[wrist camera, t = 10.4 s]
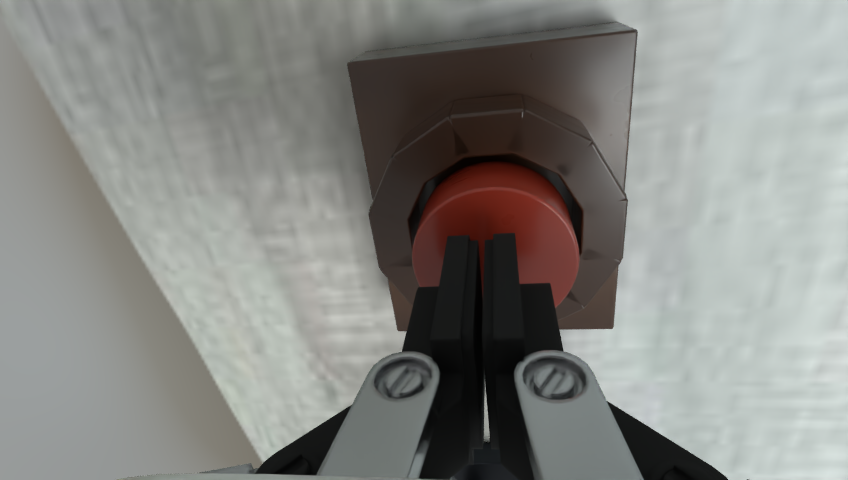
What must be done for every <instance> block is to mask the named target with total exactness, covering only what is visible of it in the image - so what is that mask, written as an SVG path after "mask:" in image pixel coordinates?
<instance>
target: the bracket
mask: <svg viewBox="0 0 848 480" xmlns="http://www.w3.org/2000/svg"><path fill="white" fill-rule="evenodd" d="M454 476H455V480H518V479H517V478H516V477H515V476H514V475H513V474H512V473H510V472H509V471H508V470H507V469H506V468H505V467H504V466H502V465H501V461H500V449H491V443H483V449H474V462H473V465H466V466H465V467H464V468H462V469H461V470H460V471H459V472H457V473H456V474H455V475H454Z"/></svg>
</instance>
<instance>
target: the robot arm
mask: <svg viewBox="0 0 848 480" xmlns="http://www.w3.org/2000/svg"><path fill="white" fill-rule="evenodd" d="M485 383H486V395H487V407H488V419H489V431H490V443H491V449H500V461H501V465H502V466H504V467H505V468H506V469H507V470H508V471H509V472H510V473H512V474H513V475H514V476H515V477H516V478H517V479H518V480H728V479H727V478H726V477H725V476H724V475H723V474H721V473H720V472H719V471H718V470H716V469H715V468H714V467H712V466H711V465H709V464H708V463H706V462H704V461H703V460H701V459H699V458H698V457H696V456H695V455H693V454H691V453H690V452H688V451H687V450H685V449H683V448H682V447H680V446H679V445H677V444H675V443H674V442H672V441H671V440H669V439H667V438H666V437H664V436H662V435H661V434H659V433H658V432H656V431H654V430H653V429H651V428H650V427H648V426H646V425H645V424H643V423H642V422H640V421H638V420H637V419H635V418H633V417H632V416H630V415H629V414H627V413H625V412H624V411H622V410H621V409H619V408H617V407H616V406H614V405H613V404H611V403H609V402H608V401H606V399H605V397H604V395H603V392H602V390H601V388H600V386H599V384H598V382H597V380H596V378H595V375H594V373H593V372H592V370H591V369H590V367H589V366H588V365H587V364H586V363H585V362H584V361H583V360H581V359H580V358H579V357H577V356H574V355H572V354H570V353H567V352H563V347H562V341H561V336H560V331H559V326H558V320H557V315H556V310H555V304H554V299H553V294H552V289H551V284H550V283H527V284H519V272H518V261H517V250H516V238H515V233H500V234H493V240H485V248H484V283H483V294H482V281H481V268H480V256H479V243H478V240H472V241H470V236H469V235H459V236H448V237H447V242H446V248H445V254H444V260H443V265H442V271H441V277H440V283H439V286H433V287H418V288H417V291H416V295H415V299H414V303H413V308H412V312H411V316H410V320H409V324H408V328H407V333H406V337H405V341H404V345H403V349H402V352H399V353H394V354H391V355H389V356H387V357H385V358H382V359H381V360H380V361H379V362H377V363H376V364H375V365H374V366H373V367H372V369H371V370H370V371H369V373H368V375H367V377H366V379H365V381H364V383H363V385H362V387H361V388H360V390H359V392H358V394H357V396H356V398H355V400H354V402H353V404H352V405H351V406H349V407H348V408H346V409H344V410H343V411H341V412H340V413H338V414H337V415H335V416H333V417H332V418H330V419H329V420H327V421H326V422H324V423H322V424H321V425H319V426H318V427H316V428H314V429H313V430H311V431H310V432H308V433H307V434H305V435H303V436H302V437H300V438H299V439H297V440H296V441H294V442H292V443H291V444H289V445H288V446H286V447H284V448H283V449H281V450H280V451H278V452H277V453H275V454H274V455H272V456H271V457H270V458H269V459H267V460H266V461H265V462H264V463H263V464H262V465H261V466H260V468H256V469H253V467H252V464H251V463H249V464H244V465H238V466H233V467H227V468H222V469H217V470H211V471H206V472H200V473H189V474H156V475H147V476H137V477H128V478H123V479H118V480H455V476H454V475H455V474H456V473H457V472H459V471H460V470H461V469H462V468H464V467H465V466H466V465H473V462H474V449H483V442H484V389H485ZM747 480H748V479H747Z"/></svg>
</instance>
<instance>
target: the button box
mask: <svg viewBox="0 0 848 480" xmlns="http://www.w3.org/2000/svg"><path fill="white" fill-rule="evenodd" d="M637 33H638V32H637V30H636V29H633V28H631V27H629V26H626V25H624V24H621V23H619V22H615V23H606V24H598V25H589V26H580V27H572V28H563V29H555V30H546V31H538V32H529V33H520V34H512V35H503V36H495V37H486V38H477V39H469V40H460V41H452V42H443V43H435V44H426V45H417V46H409V47H400V48H392V49H383V50H375V51H366V52H364V53H363V54H361V55H359V56H358V57H356V58H354V59H353V60H351V61H350V62H348V63H347V66H348V72H349V77H350V82H351V87H352V93H353V98H354V103H355V109H356V114H357V119H358V124H359V130H360V135H361V140H362V146H363V151H364V156H365V161H366V167H367V172H368V177H369V183H370V188H371V193H372V198H373V202H372V205H371V207H370V212H369V219H370V224H371V229H372V234H373V239H374V244H375V250H376V255H377V260H378V265H379V268H380V269H381V271H382V272H383V273H384V274H385V276H386V277H387V278H388V283H389V288H390V294H391V299H392V304H393V309H394V315H395V320H396V325H397V330H398V331H407V328H408V324H409V320H410V316H411V312H412V308H413V303H414V299H415V295H416V291H417V288H418V287H420V286H419V284H418V282H417V279H416V276H415V274H414V269H413V264H412V249H413V244H414V239H415V236H416V233H417V229H418V226H419V223H420V220H421V216H422V213H423V210H424V207H425V205H426V202H427V200H428V198H429V197H430V195H431V193H432V192H433V191H434V189H435V188H436V187H437V186H438V185H439V184H440V183H441V182H442V181H443V180H444V179H445V178H447V177H448V176H449V175H451V174H452V173H454V172H456V171H458V170H460V169H462V168H464V167H467V166H470V165H473V164H477V163H482V162H493V161H501V162H510V163H514V164H518V165H522V166H524V167H527V168H530V169H532V170H534V171H535V172H537V173H539V174H541V175H542V176H543V177H545V178H546V179H547V180H549V181H550V182H551V183H552V184H553V185H554V186H555V188H556V189H557V190H558V191H559V193H560V194H561V196H562V198H563V199H564V201H565V204H566V206H567V209H568V212H569V215H570V219H571V222H572V225H573V229H574V232H575V235H576V239H577V243H578V247H579V269H578V273H577V276H576V279H575V282H574V284H573V286H572V288H571V290H570V291H569V293H568V294H567V296H566V297H565V298H564V299H563V301H562V302H561V303H560V304H559V305H558V306H557V307H556V308H555V310H556V315H557V320H558V326H559V329H613V327H614V315H615V302H616V290H617V278H618V266H619V264H620V263H621V260H622V258H623V250H624V238H625V227H626V215H627V203H628V200H627V197H626V194H625V180H626V168H627V155H628V143H629V131H630V119H631V106H632V94H633V82H634V70H635V57H636V45H637Z"/></svg>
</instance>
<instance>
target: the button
mask: <svg viewBox="0 0 848 480" xmlns="http://www.w3.org/2000/svg"><path fill="white" fill-rule="evenodd" d="M500 233H515V238H516V250H517V261H518V272H519V284H527V283H550V284H551V289H552V294H553V299H554V304H555V308H556V307H557V306H558V305H559V304H560V303H561V302H562V301H563V299H564V298H565V297H566V296H567V294H568V293H569V291H570V290H571V288H572V286H573V284H574V282H575V279H576V276H577V273H578V269H579V247H578V243H577V239H576V235H575V232H574V229H573V225H572V222H571V219H570V215H569V212H568V209H567V206H566V204H565V201H564V199H563V198H562V196H561V194H560V193H559V191H558V190H557V189H556V188H555V186H554V185H553V184H552V183H551V182H550V181H549V180H547V179H546V178H545V177H543V176H542V175H541V174H539V173H537V172H535V171H534V170H532V169H530V168H527V167H524V166H522V165H518V164H514V163H510V162H501V161H493V162H482V163H477V164H473V165H470V166H467V167H464V168H462V169H460V170H458V171H456V172H454V173H452V174H451V175H449V176H448V177H447V178H445V179H444V180H443V181H442V182H441V183H440V184H439V185H438V186H437V187H436V188H435V189H434V191H433V192H432V193H431V195H430V197H429V198H428V200H427V202H426V205H425V207H424V210H423V213H422V216H421V220H420V223H419V226H418V229H417V233H416V236H415V239H414V244H413V249H412V264H413V269H414V274H415V276H416V279H417V282H418V284H419V286H420V287H433V286H439V283H440V277H441V271H442V265H443V260H444V254H445V248H446V242H447V237H448V236H459V235H469V236H470V241H472V240H478V243H479V256H480V268H481V281H482V294H483V283H484V248H485V240H493V234H500Z"/></svg>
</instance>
